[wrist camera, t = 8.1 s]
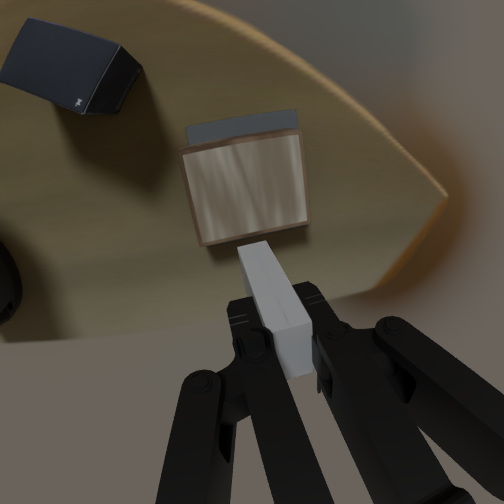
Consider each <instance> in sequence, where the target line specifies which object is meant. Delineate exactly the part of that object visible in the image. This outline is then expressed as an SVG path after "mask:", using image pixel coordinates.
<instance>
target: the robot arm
mask: <svg viewBox="0 0 504 504" xmlns="http://www.w3.org/2000/svg"><path fill="white" fill-rule="evenodd" d="M237 249H238V254H239V259H240V264H241V269H242V274H243V280H244V285H245V290H246V293H247V296H248V297H246V298H242V299H237V300H233V301H230V302H229V305H228V307H227V314H228V318H229V323H230V328H231V332H232V337H233V347H234V351H235V358H234V360H233V361H232V363H231V364H230V365H229V366H227V367H226V368H224V369H222V370H220V371H218V372H217V373H215V372H213V371H211V370H198V371H195V372H193V373H191V374H189V376H187V377H186V378H185V380H184V382H183V384H182V387H181V391H180V395H179V399H178V403H177V407H176V412H175V416H174V420H173V425H172V429H171V433H170V438H169V442H168V446H167V451H166V455H165V460H164V465H163V470H162V474H161V478H160V483H159V488H158V493H157V498H156V503H155V504H230V498H231V485H232V474H233V462H234V450H235V437H236V426H237V422H238V421H240V420H242V419H244V418H246V417H247V416H249V415H251V419H252V423H253V427H254V431H255V434H256V439H257V443H258V446H259V450H260V454H261V458H262V461H263V465H264V469H265V472H266V476H267V480H268V483H269V487H270V490H271V494H272V497H273V501H274V504H334V501H333V499H332V496H331V494H330V491H329V489H328V486H327V484H326V481H325V479H324V476H323V474H322V471H321V468H320V466H319V463H318V461H317V458H316V456H315V453H314V451H313V448H312V445H311V443H310V441H309V438H308V435H307V433H306V430H305V427H304V425H303V422H302V420H301V417H300V414H299V412H298V409H297V407H296V404H295V402H294V399H293V396H292V393H291V391H290V388H289V386H288V383H287V380H288V379H292V378H295V377H299V376H302V375H306V374H309V373H312V372H313V365H314V367H315V369H316V371H317V391H318V393H320V392H321V389H322V392H323V394H324V396H325V398H326V401H327V403H328V405H329V407H330V409H331V411H332V414H333V415H334V418H335V420H336V422H337V424H338V427H339V429H340V431H341V433H342V435H343V437H344V440H345V442H346V444H347V446H348V448H349V451H350V453H351V455H352V457H353V459H354V461H355V463H356V466H357V468H358V470H359V472H360V475H361V477H362V479H363V481H364V483H365V485H366V488H367V490H368V492H369V494H370V496H371V499H372V501H373V503H374V504H476V503H475V501H474V500H473V498H472V496H471V495H470V494H469V492H467V491H466V490H465V489H463V488H459V487H455V486H454V485H453V484H452V483H451V481H450V480H449V478H448V476H447V475H446V473H445V471H444V470H443V468H442V466H441V465H440V463H439V461H438V459H437V458H436V456H435V455H434V453H433V451H432V450H431V448H430V446H429V445H428V443H427V441H426V440H425V438H424V436H423V435H422V433H421V432H420V430H419V428H420V429H421V430H422V431H423V432H424V433H425V434H426V435H428V436H429V437H430V438H431V439H432V440H433V441H434V442H435V443H436V444H437V445H438V446H439V447H441V449H442V450H443V451H445V452H446V453H447V454H448V455H449V456H450V457H451V458H452V459H453V460H454V461H455V462H456V463H458V464H459V465H460V466H461V467H462V468H463V469H464V470H465V471H466V472H467V473H468V474H469V475H470V476H471V477H473V478H474V479H475V480H476V481H477V482H478V483H479V484H480V485H481V486H482V487H483V488H484V489H486V490H487V491H488V492H490V493H491V494H492V495H493V496H495V497H497V498H498V499H500V500H502V501H504V395H503V394H502V393H501V392H500V391H498V390H497V389H496V388H495V387H493V386H492V385H491V384H489V383H488V382H487V381H486V380H484V379H483V378H482V377H480V376H479V375H478V374H477V373H475V372H474V371H472V370H471V369H470V368H468V367H467V366H466V365H465V364H463V363H462V362H461V361H459V360H458V359H457V358H455V357H454V356H453V355H452V354H450V353H449V352H447V351H446V350H445V349H443V348H442V347H441V346H439V345H438V344H437V343H435V342H434V341H433V340H431V339H430V338H429V337H427V336H426V335H424V334H423V333H422V332H420V331H419V330H417V329H416V328H415V327H413V326H412V325H411V324H409V323H408V322H406V321H405V320H403V319H402V318H400V317H395V316H388V317H384V318H382V319H380V320H379V321H378V322H377V323H376V326H375V328H369V329H354V328H352V327H351V326H350V325H349V324H348V323H345V322H343V321H340V320H339V319H338V317H337V316H336V314H335V313H334V311H333V310H332V308H331V307H330V306H329V304H328V302H327V301H326V300H325V298H324V296H323V295H322V294H321V292H320V291H319V289H318V288H317V286H315V285H314V284H312V283H310V282H308V281H307V282H303V283H299V284H295V285H291V284H290V282H289V280H288V278H287V276H286V275H285V273H284V271H283V269H282V268H281V266H280V264H279V263H278V261H277V259H276V257H275V256H274V254H273V252H272V250H271V249H270V247H269V245H268V243H267V242H266V241H262V242H257V243H253V244H248V245H244V246H240V247H237ZM21 297H22V286H21V280H20V276H19V273H18V270H17V267H16V265H15V263H14V261H13V259H12V257H11V255H10V254H9V252H8V251H7V249H6V248H5V247H4V245H3V244H2V243H1V242H0V326H1V325H2V324H4V323H5V322H7V321H8V320H9V319H10V318H11V317H12V316H13V314H14V313H15V311H16V310H17V308H18V307H19V305H20V302H21ZM417 426H418V427H419V428H418V427H417Z"/></svg>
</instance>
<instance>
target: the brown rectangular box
mask: <svg viewBox="0 0 504 504" xmlns="http://www.w3.org/2000/svg"><path fill="white" fill-rule="evenodd" d="M178 156H179V161H180V165H181V170H182V175H183V179H184V183H185V188H186V192H187V197H188V201H189V205H190V209H191V213H192V218H193V222H194V226H195V230H196V234H197V238H198V242H199V246H200V247H204V246H208V245H212V244H217V243H221V242H226V241H231V240H235V239H240V238H244V237H249V236H253V235H258V234H263V233H267V232H272V231H277V230H281V229H286V228H291V227H295V226H300V225H305V224H310V223H311V219H310V207H309V196H308V185H307V175H306V165H305V156H304V147H303V139H302V130H298V129H293V128H284V129H277V130H270V131H263V132H257V133H251V134H245V135H239V136H233V137H228V138H223V139H217V140H212V141H207V142H203V143H198V144H193V145H189V146H185V147H180V148H179V150H178Z"/></svg>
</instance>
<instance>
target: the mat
mask: <svg viewBox="0 0 504 504" xmlns="http://www.w3.org/2000/svg"><path fill="white" fill-rule="evenodd" d="M284 128H293V129H298V122H297V114H296V110H286V111H277V112H269V113H262V114H255V115H248V116H242V117H236V118H230V119H225V120H219V121H214V122H209V123H204V124H199V125H194V126H190V127H186V131H187V136H188V141H189V145H193V144H198V143H203V142H207V141H212V140H217V139H223V138H228V137H233V136H239V135H245V134H251V133H257V132H263V131H270V130H277V129H284ZM298 130H299V129H298ZM306 225H308V224H305V225H300V226H295V227H291V228H286V229H281V230H277V231H282V230H287V229H292V228H296V227H301V226H306ZM277 231H272V232H267V233H263V234H258V235H253V236H249V237H244V238H240V239H235V240H231V241H236V240H241V239H245V238H250V237H254V236H259V235H264V234H268V233H273V232H277ZM231 241H226V242H221V243H217V244H212V245H211V246H213V245H218V244H222V243H227V242H231Z"/></svg>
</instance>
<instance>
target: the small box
mask: <svg viewBox="0 0 504 504" xmlns="http://www.w3.org/2000/svg"><path fill="white" fill-rule="evenodd" d="M141 69H142V65H141V64H139V63H138V62H137V61H136V60H135V59H134V58H133V57H132V56H131V55H130V54H129V53H128V52H127V51H126V50H125V49H124V48H123V47H122V46H121V45H120V44H118V43H115V42H113V41H110V40H107V39H104V38H101V37H98V36H95V35H92V34H89V33H86V32H83V31H80V30H77V29H73V28H70V27H66V26H63V25H59V24H56V23H52V22H48V21H44V20H40V19H36V18H31V17H29V18H28V19H27V20H26V22H25V23H24V25H23V27H22V28H21V30H20V32H19V34H18V36H17V38H16V39H15V41H14V43H13V45H12V47H11V49H10V51H9V53H8V55H7V58H6V60H5V62H4V64H3V66H2V69H1V71H0V82H1V83H4V84H7V85H9V86H12V87H15V88H17V89H20V90H22V91H25V92H27V93H30V94H32V95H35V96H37V97H40V98H43V99H45V100H48V101H50V102H52V103H55V104H57V105H60V106H62V107H64V108H67V109H69V110H72V111H74V112H77V113H79V114H81V115H83V114H86V115H89V114H90V115H91V114H110V115H116V114H118V112H119V111H120V108H121V105H122V104H123V102H124V99H125V98H126V96H127V94H128V92H129V90H130V89H131V87H132V85H133V83H134V82H135V81H136V79H137V77H138V75H139V73H140V71H141Z"/></svg>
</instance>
